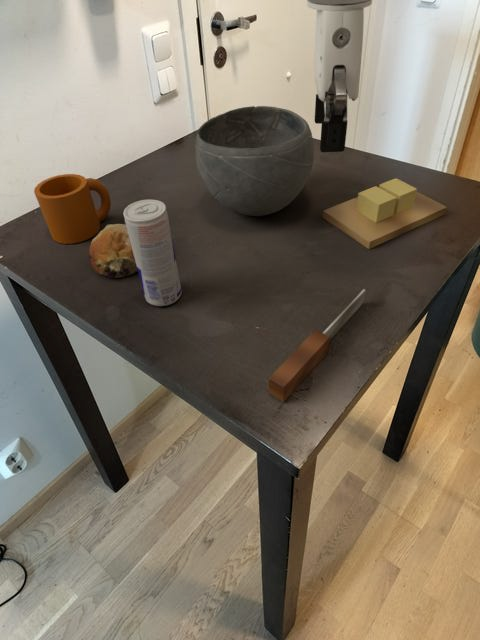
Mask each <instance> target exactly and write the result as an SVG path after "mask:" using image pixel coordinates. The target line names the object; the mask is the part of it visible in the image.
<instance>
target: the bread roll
mask: <svg viewBox="0 0 480 640" xmlns="http://www.w3.org/2000/svg"><path fill="white" fill-rule="evenodd" d="M88 251H89V260H90V265H91V267H92V269H93V270H94V271H95V272H96V273H97V274H99V275H100V276H103V277H108V278H110V279H113V278H115V279H119V278H124V277H128V276H132V275H134V274H135V273H138V269H137V265H136V261H135V258H134V254H133V250H132V246H131V242H130V238H129V234H128V231H127V227H126V223H115V224H114V223H113V224H106V226H105V227H104V228H103V229H102V230H101V231H99V232H98V233H97V234H96V235H95V237H93V239H92V240H91V242H90V246H89V249H88Z"/></svg>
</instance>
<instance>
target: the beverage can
mask: <svg viewBox="0 0 480 640" xmlns="http://www.w3.org/2000/svg"><path fill="white" fill-rule="evenodd" d="M122 213H123V218H124V224H125V225H126V227H127V231H128V234H129V238H130V242H131V246H132V250H133V254H134V258H135V261H136V265H137V269H138V271H137V273H138V276H139V280H140V285H141V288H142V292H143V296H144V299H145V301H146V302H147V303H148V304H150V305H152V306H155V307H164V306H169V305H172V304H174V303H175V302H177V301H178V300H179V299H180V298H181V296H182V293H183V291H182V285H181V280H180V274H179V269H178V263H177V259H176V252H175V248H174V241H173V236H172V232H171V231H172V230H171V224H170V221H169V220H170V219H169V215H168V211H167V205H166V204H165V203H164V202H163V201H160V200H157V199H141V200H138V201H135V202H132V203H130V204H128V205H127V206H126V207H125V208H124V210H123V211H122Z"/></svg>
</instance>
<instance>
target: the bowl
mask: <svg viewBox="0 0 480 640" xmlns="http://www.w3.org/2000/svg"><path fill="white" fill-rule="evenodd" d="M309 125H310V124H309V123H308V122H307V121H306V119H305V118H304V117H302V116H301V115H299V114H298V113H296V112H294V111H293V110H290V109H288V108H287V109H286V108H281V107H277V106H269V105H268V106H267V105H257V106H255V105H252V106H251V105H250V106H243V107H237V108H235V109H231V110H228V111H225V112H224V113H220V114H218V115H216V116H213V117H211V118H210V119H208V120H207V121H205V122H203V124H202V125H201V126H199V128H198V129H197V134H196V138H195V142H194V159H195V165H196V168H197V171H198V175H199V178H200V180H201V182H202V184H203V186H204V187H205V189H206V190H207V191H208V193H209V194H210V195H211V196H212V197H213V198H214V199H215V200H216V201H217V202H219V203H220V204H221V205H222V206H224V207H225V208H227V209H228V210H230V211H232V212H233V213H236V214H239V215H243V216H248V217H249V216H250V217H264V216H267V215H271V214H274V213H277V212H279V211H281V210H282V209H285V208H286V207H287V206H288V205H290V204H291V203H292V202H293V201H294V200H296V198H297V196H298V195H299V194H300V193H301V192H302V190H303V189H304V188H305V186H306V184H307V182H308V180H309V177H310V175H311V172H312V169H313V166H314V159H315V158H314V157H315V155H314V154H315V143H314V138H313V133H312V130H311V128H310V126H309Z"/></svg>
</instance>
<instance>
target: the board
mask: <svg viewBox="0 0 480 640" xmlns="http://www.w3.org/2000/svg"><path fill="white" fill-rule="evenodd" d="M357 201H358V196H356V197H353V198H350V199H348V200H346V201H343V202H341V203H338V204H336V205H333V206H331V207H329V208H327V209H323V210H322V219H323V220H325V221H326V222H328V223H329V224H331V225H332V226H334V227H335V228H337V229H338V230H340V231H341V232H342V233H344V234H346V235H347V236H348V237H350V238H351V239H353V240H354V241H356V242H357V243H359V244H361V246H363V247H365V248H366V249H368V250H370V249H372V248H375V247H377V246H379V245H381V244H383V243H385V242H388V241H390V240H392V239H395V238H396V237H399V236H401V235H404V234H405V233H408V232H409V231H412V230H414V229H416V228H419V227H421V226H423V225H425V224H428V223H430V222H432V221H434V220H436V219H438V218H441V217H442V216H445V215H446V213H447V209H448V207H447V206H446V205H444V204H442V203H440V202H438V201H436V200H434V199H432V198H430V197H429V196H426V195H424V194H423V193H421V192H419V191H417V192H416V196H415V201H414V205H413V207H412V208H409V209H407V210H405V211H402V212H400V213H398V214H396V213H394V214H393V216H391V217H389V218H386V219H384V220H382V221H379V222H377V223H375V222H374V221H372V220H370V219H369V218H367V217H366V216H364V215H362V214H361V213H359V212H358V211H356V208H357Z"/></svg>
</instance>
